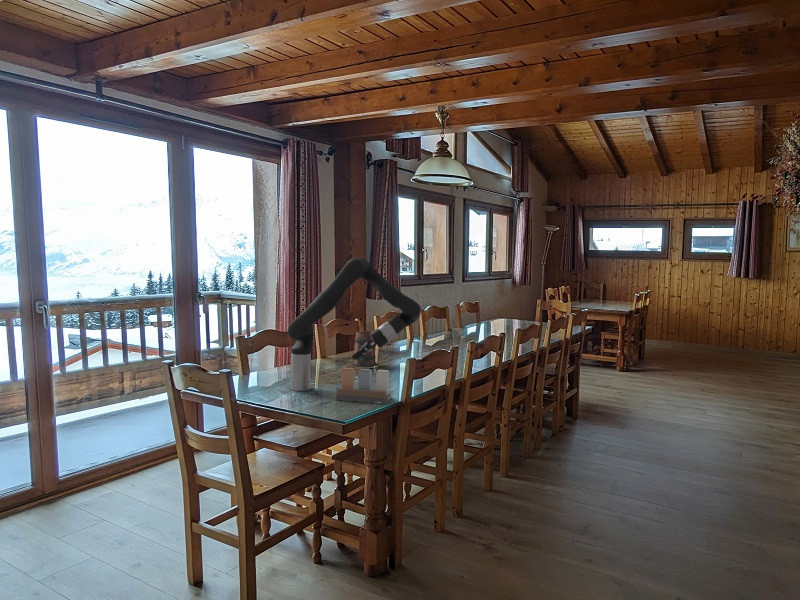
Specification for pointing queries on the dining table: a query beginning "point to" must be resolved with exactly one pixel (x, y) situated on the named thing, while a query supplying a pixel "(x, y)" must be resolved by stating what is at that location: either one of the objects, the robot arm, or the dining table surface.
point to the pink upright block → (348, 378)
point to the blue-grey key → (365, 379)
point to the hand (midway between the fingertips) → (353, 358)
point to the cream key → (382, 381)
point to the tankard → (368, 357)
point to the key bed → (347, 398)
